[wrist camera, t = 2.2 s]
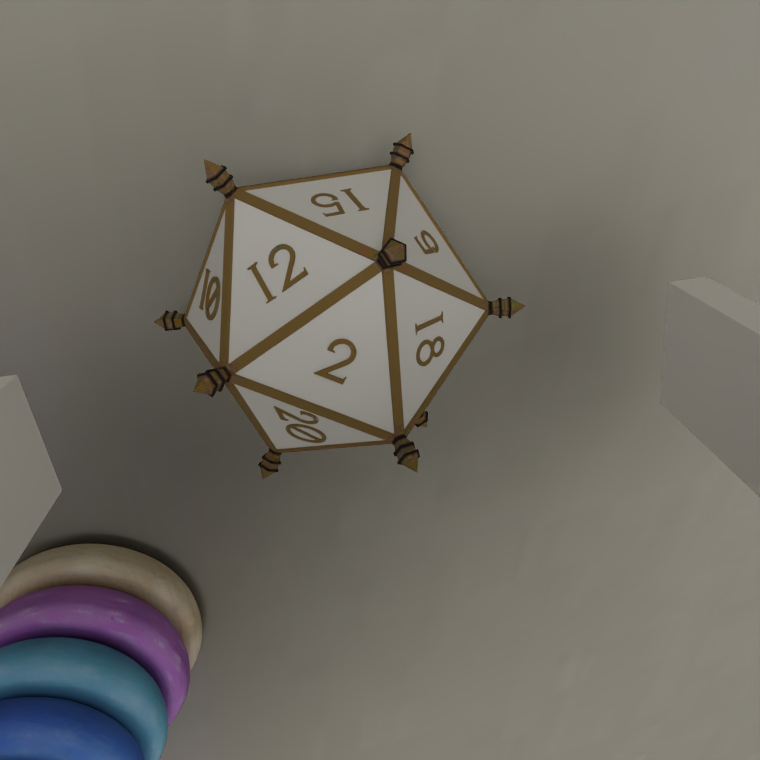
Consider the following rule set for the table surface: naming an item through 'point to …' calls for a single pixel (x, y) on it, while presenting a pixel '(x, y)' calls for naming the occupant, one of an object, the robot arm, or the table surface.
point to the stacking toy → (93, 654)
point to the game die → (331, 308)
